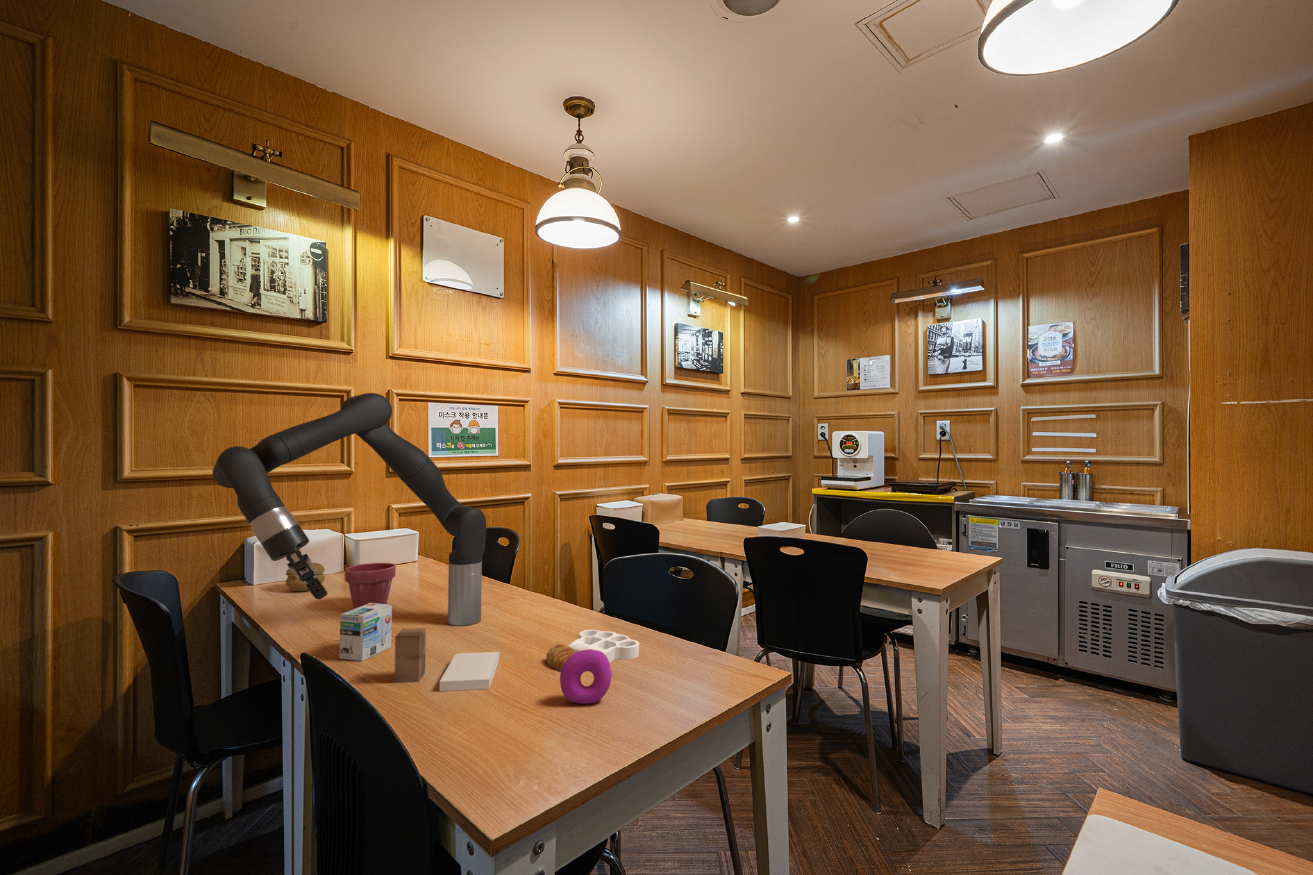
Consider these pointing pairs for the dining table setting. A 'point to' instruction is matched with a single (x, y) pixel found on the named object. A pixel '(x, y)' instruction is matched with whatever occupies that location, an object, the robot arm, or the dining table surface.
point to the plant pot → (370, 582)
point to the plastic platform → (470, 671)
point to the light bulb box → (365, 631)
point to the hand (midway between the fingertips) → (322, 596)
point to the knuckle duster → (607, 644)
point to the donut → (576, 667)
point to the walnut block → (410, 655)
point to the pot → (297, 583)
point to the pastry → (559, 655)
